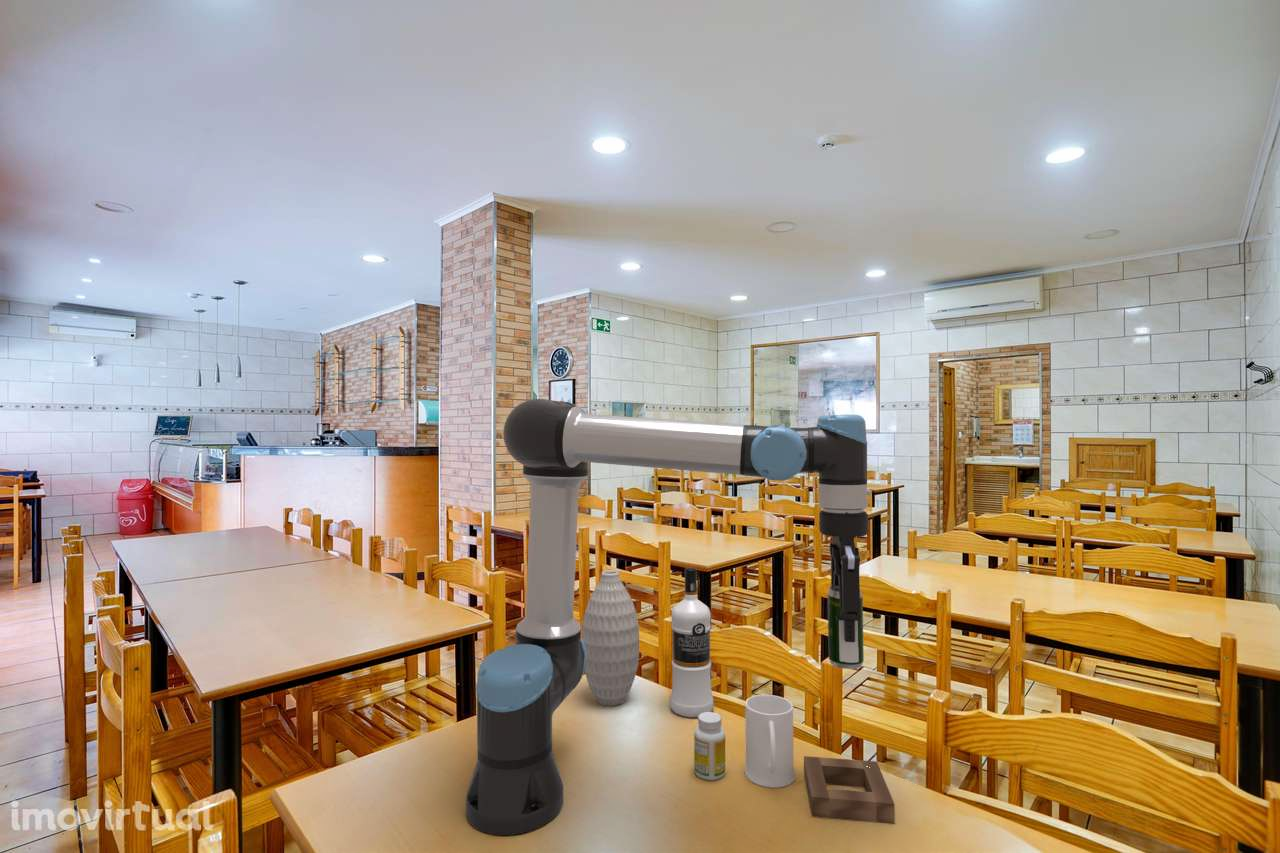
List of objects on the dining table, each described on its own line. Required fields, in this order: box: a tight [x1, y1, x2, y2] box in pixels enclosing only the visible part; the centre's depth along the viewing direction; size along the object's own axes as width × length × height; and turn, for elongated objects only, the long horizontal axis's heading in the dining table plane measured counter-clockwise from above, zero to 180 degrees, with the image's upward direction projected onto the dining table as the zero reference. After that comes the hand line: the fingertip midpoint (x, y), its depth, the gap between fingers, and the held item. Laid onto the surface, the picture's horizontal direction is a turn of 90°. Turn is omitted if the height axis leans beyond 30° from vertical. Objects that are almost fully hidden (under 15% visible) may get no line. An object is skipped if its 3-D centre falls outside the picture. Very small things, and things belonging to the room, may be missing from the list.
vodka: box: [669, 567, 715, 718], centre depth 131 cm, size 9×9×30 cm
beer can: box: [827, 585, 865, 670], centre depth 99 cm, size 5×5×12 cm
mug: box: [744, 694, 796, 789], centre depth 104 cm, size 12×8×12 cm
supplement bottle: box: [693, 711, 726, 781], centre depth 106 cm, size 5×5×10 cm
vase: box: [581, 569, 640, 707], centre depth 136 cm, size 13×13×28 cm
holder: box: [803, 755, 896, 825], centre depth 99 cm, size 12×12×3 cm
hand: (845, 653), depth 99 cm, fingers closed on beer can, 5 cm apart
